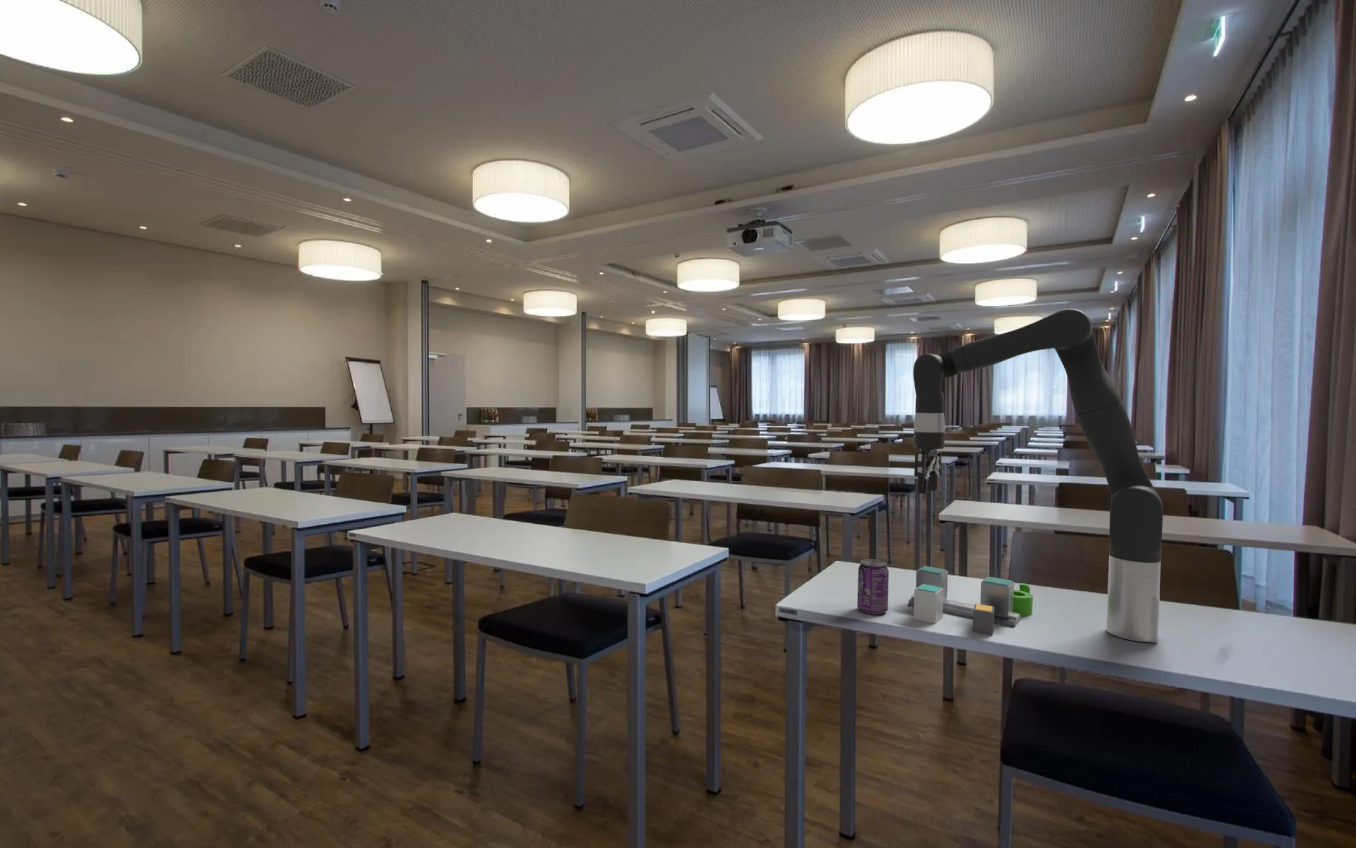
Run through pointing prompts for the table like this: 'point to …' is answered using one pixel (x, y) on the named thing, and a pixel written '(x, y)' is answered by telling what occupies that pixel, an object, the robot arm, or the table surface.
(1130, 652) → the table surface
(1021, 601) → the tape dispenser
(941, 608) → the block
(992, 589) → the rail
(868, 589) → the beverage can
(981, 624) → the block
